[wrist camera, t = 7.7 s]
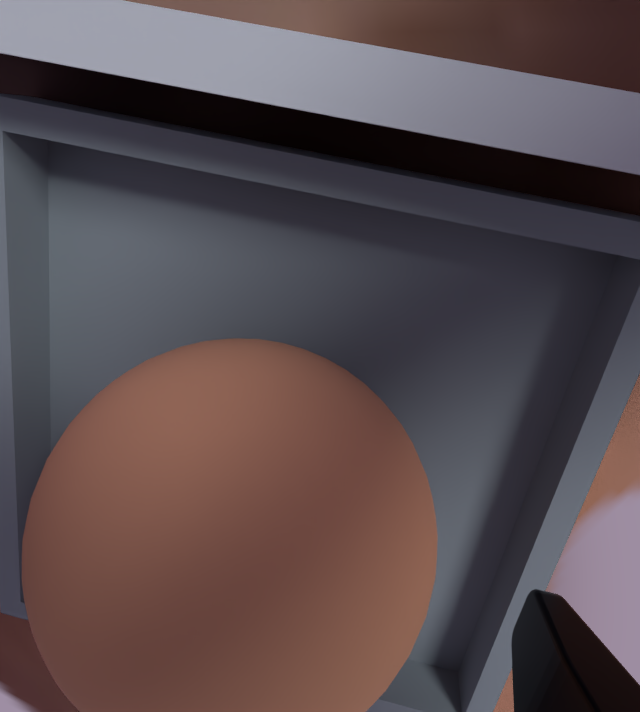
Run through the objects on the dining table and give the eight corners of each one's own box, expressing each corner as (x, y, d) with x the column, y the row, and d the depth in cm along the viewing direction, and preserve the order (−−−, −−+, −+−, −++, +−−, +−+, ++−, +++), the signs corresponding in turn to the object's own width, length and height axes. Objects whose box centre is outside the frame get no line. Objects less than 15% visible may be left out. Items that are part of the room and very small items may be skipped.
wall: (933, 172, 8) (1183, 190, 6) (903, 225, 9) (1126, 266, 6) (-158, -28, 10) (-379, -90, 7) (-152, 25, 10) (-362, -17, 7)
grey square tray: (658, 219, 9) (699, 234, 8) (472, 681, 14) (478, 744, 12) (31, 96, 10) (-29, 90, 9) (40, 566, 14) (0, 613, 13)
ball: (467, 331, 10) (535, 567, 5) (392, 583, 13) (380, 939, 7) (148, 263, 11) (-136, 405, 5) (132, 519, 13) (-74, 809, 7)
